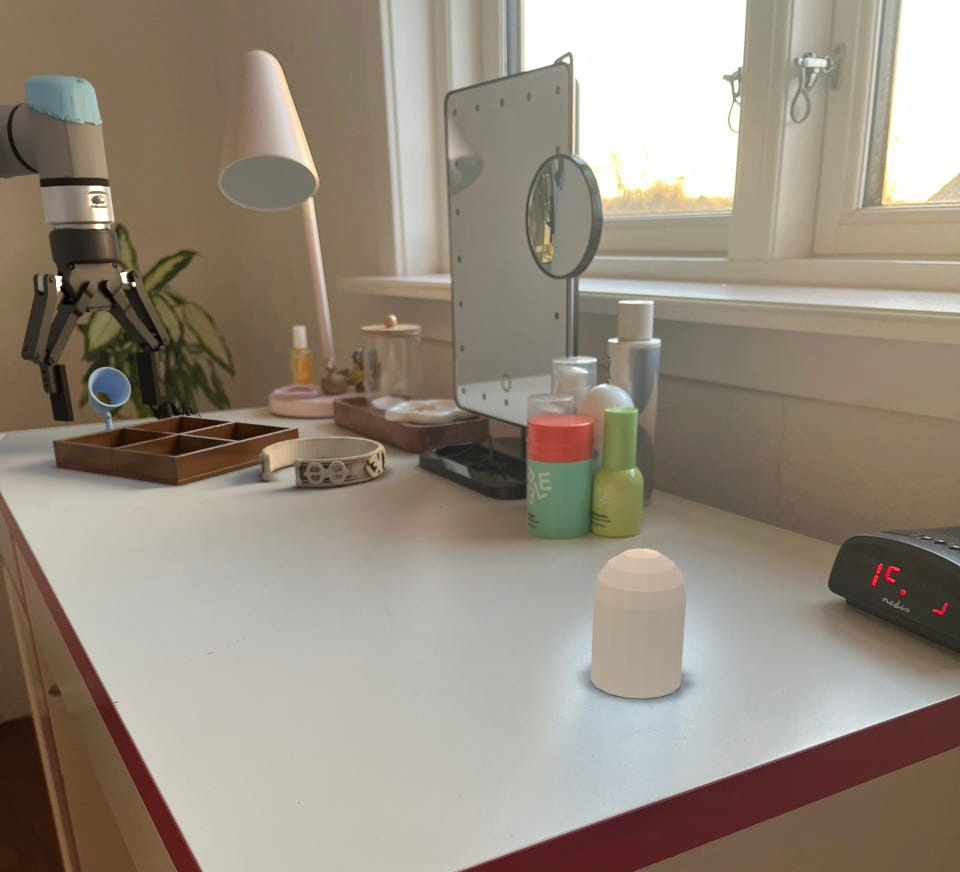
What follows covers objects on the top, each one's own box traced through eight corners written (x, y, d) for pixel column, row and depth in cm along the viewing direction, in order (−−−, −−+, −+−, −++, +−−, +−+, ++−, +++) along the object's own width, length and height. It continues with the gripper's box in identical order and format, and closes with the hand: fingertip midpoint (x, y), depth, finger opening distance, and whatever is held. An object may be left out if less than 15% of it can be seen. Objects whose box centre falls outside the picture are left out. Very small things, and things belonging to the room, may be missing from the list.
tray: (56, 466, 119) (52, 440, 117) (183, 438, 134) (180, 415, 133) (178, 485, 109) (175, 457, 108) (300, 452, 125) (298, 427, 124)
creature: (180, 428, 148) (134, 423, 141) (182, 389, 147) (136, 383, 140) (218, 433, 143) (172, 429, 137) (220, 394, 142) (174, 388, 136)
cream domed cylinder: (625, 655, 64) (631, 532, 61) (698, 678, 61) (708, 549, 58) (572, 680, 61) (575, 551, 58) (646, 707, 57) (653, 570, 54)
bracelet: (395, 483, 109) (394, 455, 108) (264, 491, 106) (262, 462, 105) (375, 457, 121) (374, 432, 120) (258, 464, 118) (255, 438, 117)
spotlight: (141, 449, 127) (125, 441, 133) (130, 367, 124) (113, 361, 129) (100, 454, 125) (85, 445, 130) (88, 370, 121) (73, 364, 126)
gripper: (7, 227, 107) (43, 430, 115) (184, 226, 127) (205, 400, 135) (-36, 229, 111) (1, 426, 119) (142, 228, 131) (165, 397, 139)
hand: (110, 412), depth 127 cm, fingers open, 13 cm apart
